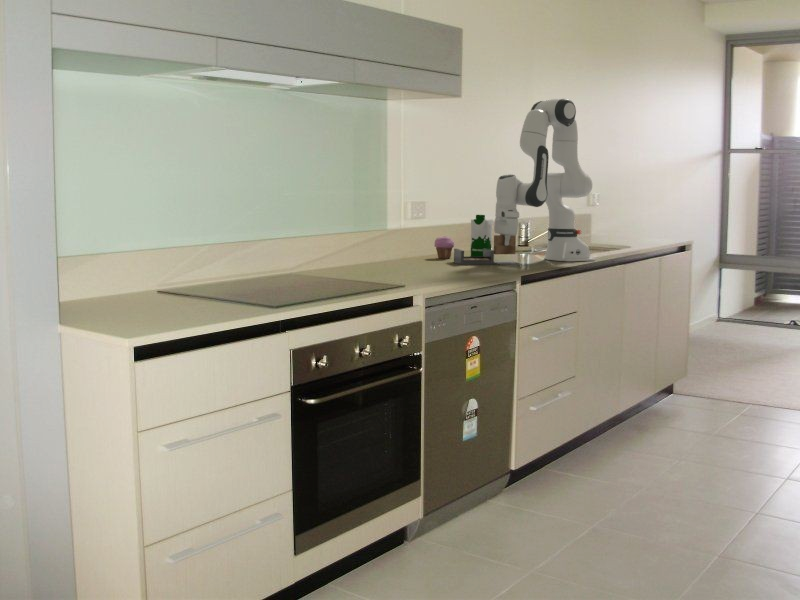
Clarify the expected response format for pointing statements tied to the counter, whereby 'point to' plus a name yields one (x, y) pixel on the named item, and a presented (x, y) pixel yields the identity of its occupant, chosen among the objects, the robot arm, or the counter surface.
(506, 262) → the grey mat
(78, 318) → the counter surface
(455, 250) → the rack
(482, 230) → the milk carton
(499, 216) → the robot arm
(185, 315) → the counter surface
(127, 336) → the counter surface
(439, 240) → the cupcake
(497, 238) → the brown flat block
